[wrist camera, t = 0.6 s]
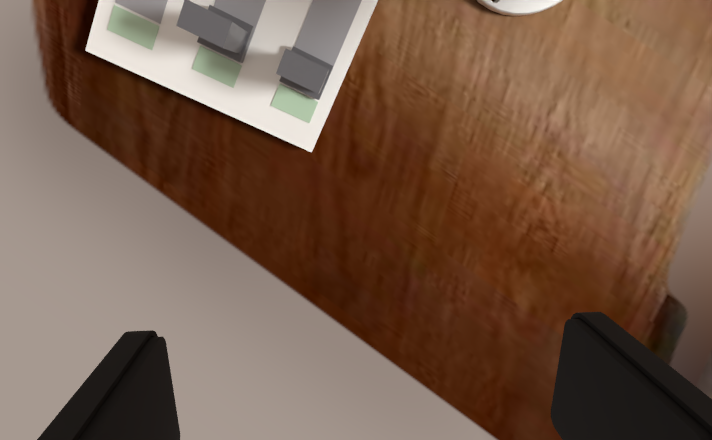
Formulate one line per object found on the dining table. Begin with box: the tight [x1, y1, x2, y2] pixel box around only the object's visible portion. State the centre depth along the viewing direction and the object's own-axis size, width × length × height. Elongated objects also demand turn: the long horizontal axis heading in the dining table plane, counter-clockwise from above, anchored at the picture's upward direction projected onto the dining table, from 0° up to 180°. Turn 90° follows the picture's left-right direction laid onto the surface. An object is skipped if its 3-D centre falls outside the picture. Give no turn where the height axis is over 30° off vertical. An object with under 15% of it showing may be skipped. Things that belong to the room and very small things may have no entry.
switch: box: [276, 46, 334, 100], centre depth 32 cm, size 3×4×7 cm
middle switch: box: [176, 0, 255, 63], centre depth 31 cm, size 3×4×7 cm
